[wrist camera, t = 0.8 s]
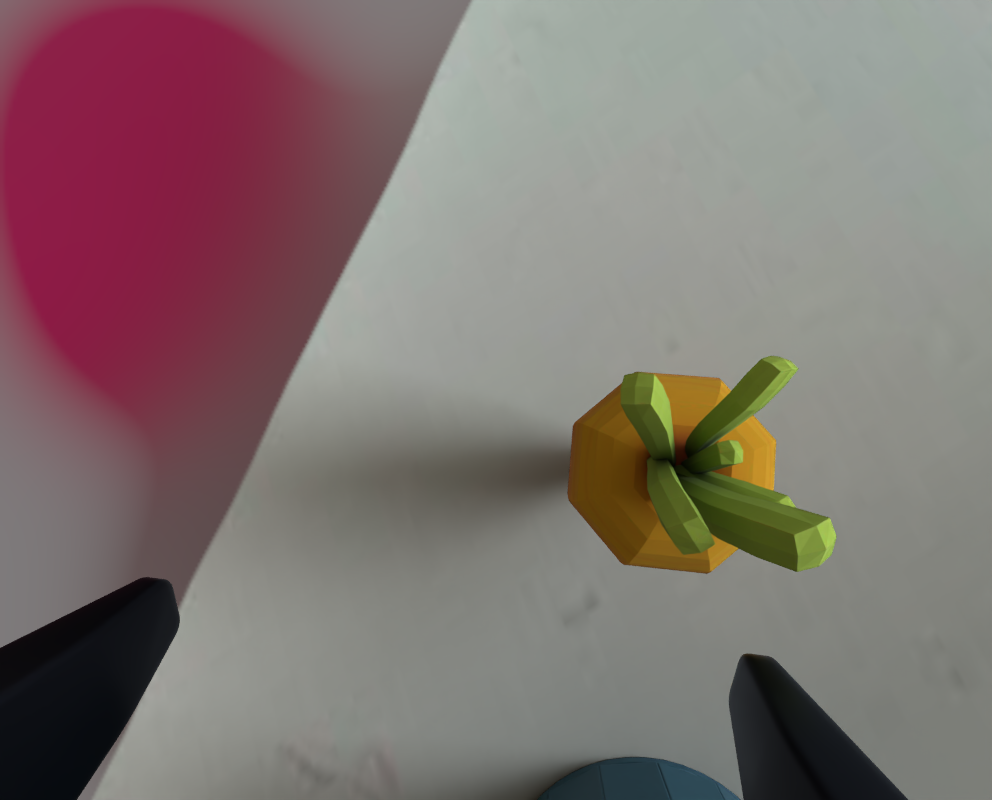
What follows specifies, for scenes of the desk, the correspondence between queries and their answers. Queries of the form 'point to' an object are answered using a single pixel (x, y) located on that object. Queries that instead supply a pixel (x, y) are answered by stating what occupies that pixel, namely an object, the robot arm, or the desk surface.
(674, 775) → the pot
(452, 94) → the desk surface
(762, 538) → the carrot
